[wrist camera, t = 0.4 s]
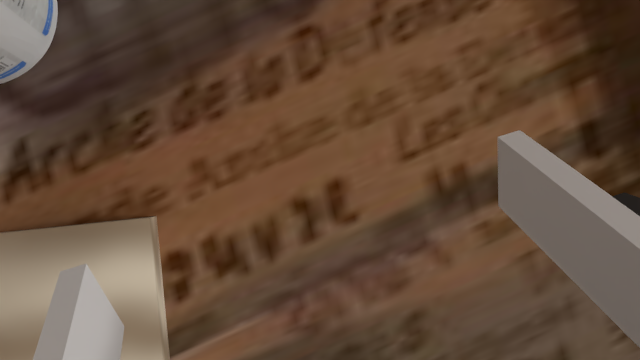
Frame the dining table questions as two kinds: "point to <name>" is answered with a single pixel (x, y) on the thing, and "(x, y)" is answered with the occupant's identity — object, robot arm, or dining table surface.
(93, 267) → the ash slab
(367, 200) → the dining table surface
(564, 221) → the robot arm
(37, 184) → the dining table surface
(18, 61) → the supplement tub
